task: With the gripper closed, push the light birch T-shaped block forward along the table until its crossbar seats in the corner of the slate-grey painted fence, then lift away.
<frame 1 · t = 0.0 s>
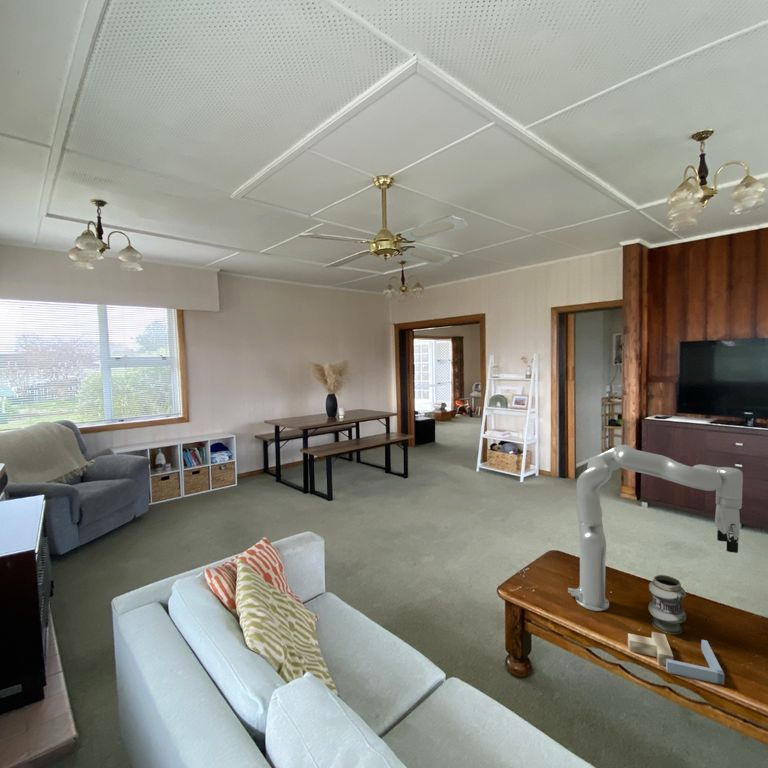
hand: (727, 546, 158), 31 cm above the table, fingers open, 9 cm apart
apothecary jar: (666, 626, 161), on the table
fence: (711, 666, 140), on the table
t block: (648, 651, 147), on the table
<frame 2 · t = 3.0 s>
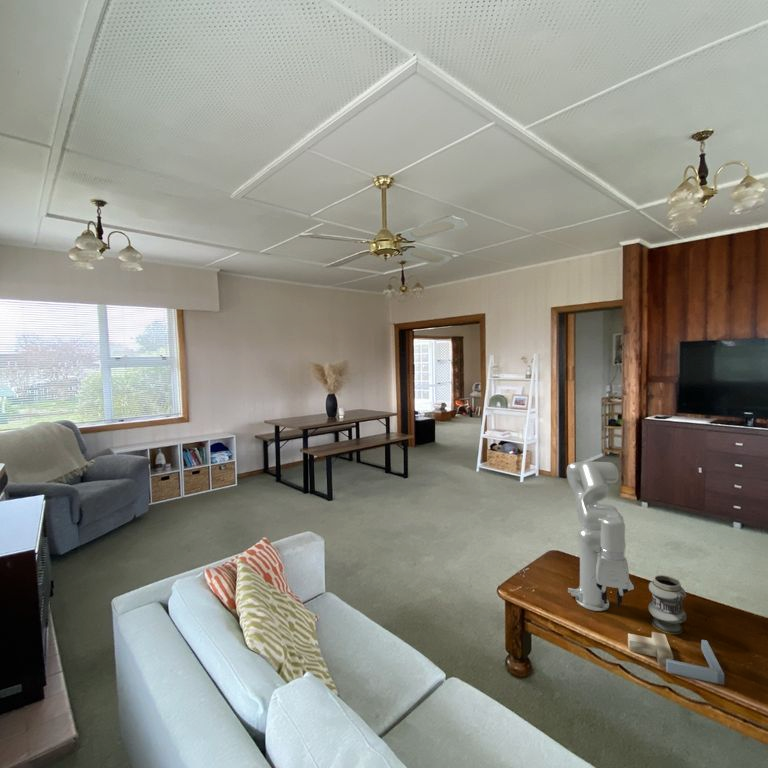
hand: (611, 602, 151), 15 cm above the table, fingers open, 3 cm apart
nothing on the table moved.
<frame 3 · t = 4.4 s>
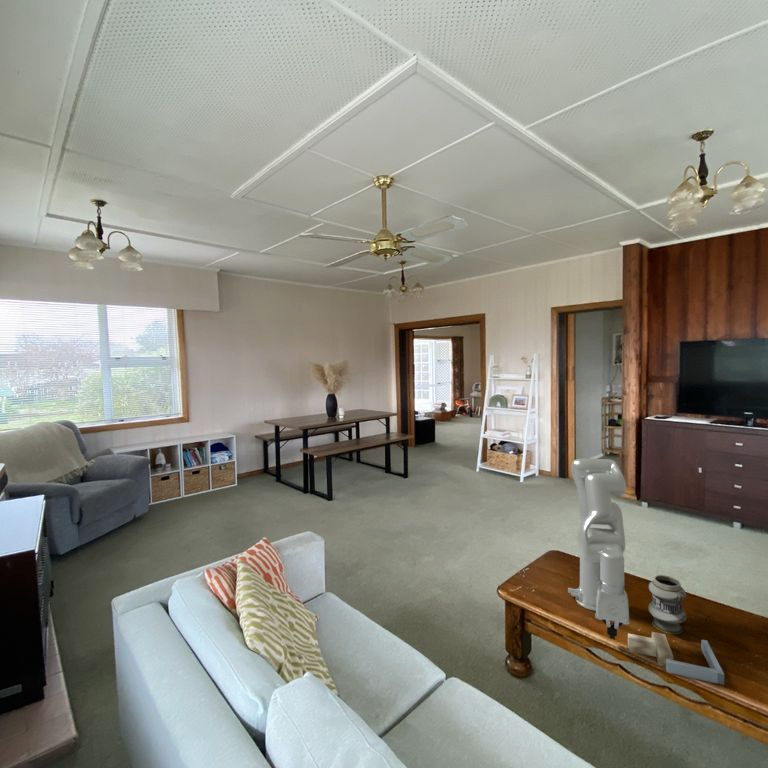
hand: (611, 636, 151), 3 cm above the table, fingers closed
nothing on the table moved.
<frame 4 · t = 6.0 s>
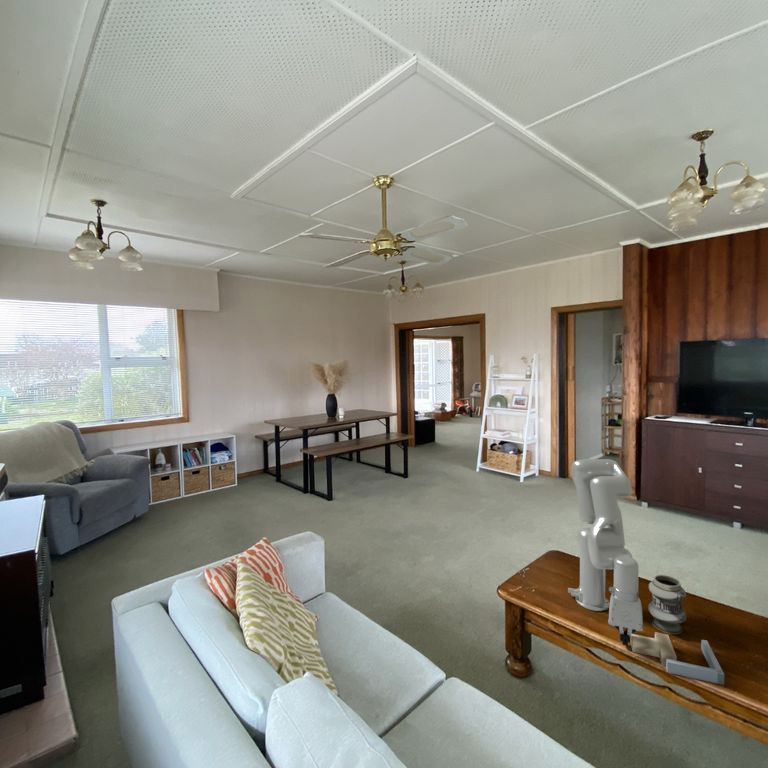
hand: (624, 643, 150), 1 cm above the table, fingers closed
t block: (651, 652, 147), on the table, touching gripper
everything else where it was.
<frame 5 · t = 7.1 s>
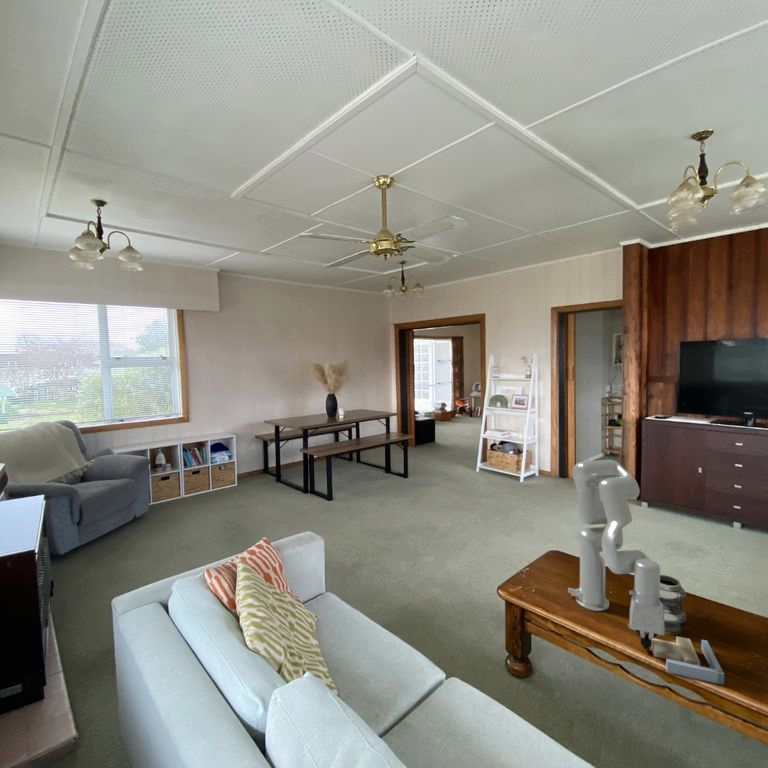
hand: (645, 647, 147), 1 cm above the table, fingers closed
t block: (673, 656, 144), on the table, touching gripper
everything else where it was.
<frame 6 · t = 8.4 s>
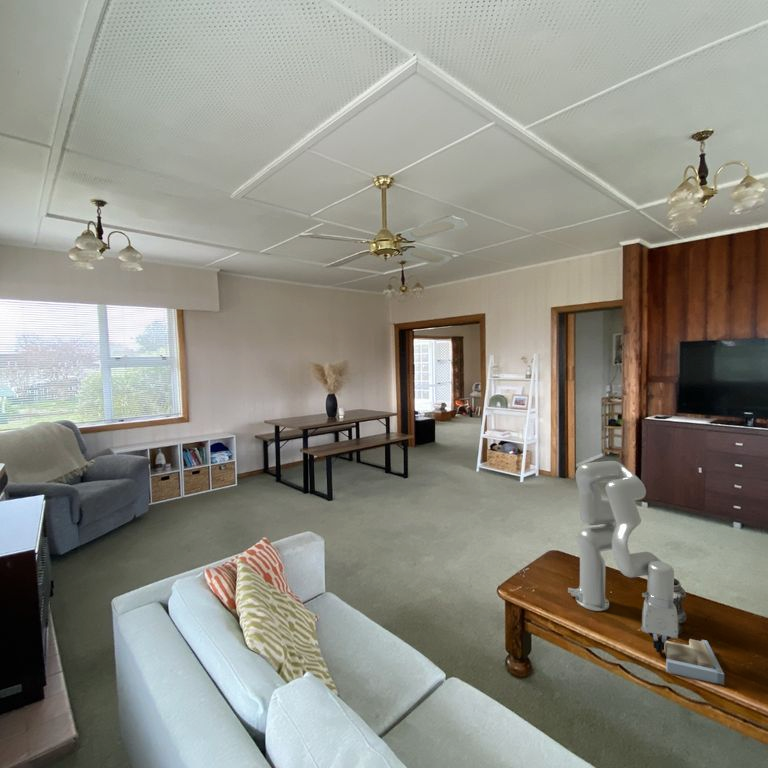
hand: (658, 650, 146), 1 cm above the table, fingers closed
t block: (686, 659, 143), on the table, touching fence, gripper
everything else where it was.
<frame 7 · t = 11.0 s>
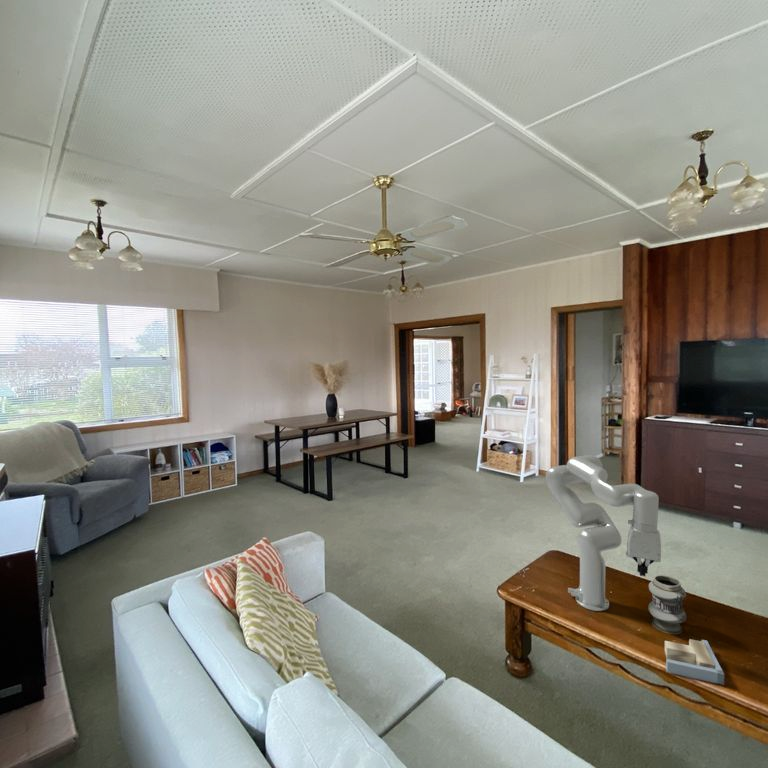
hand: (642, 574, 153), 24 cm above the table, fingers closed
t block: (686, 659, 143), on the table
everything else where it was.
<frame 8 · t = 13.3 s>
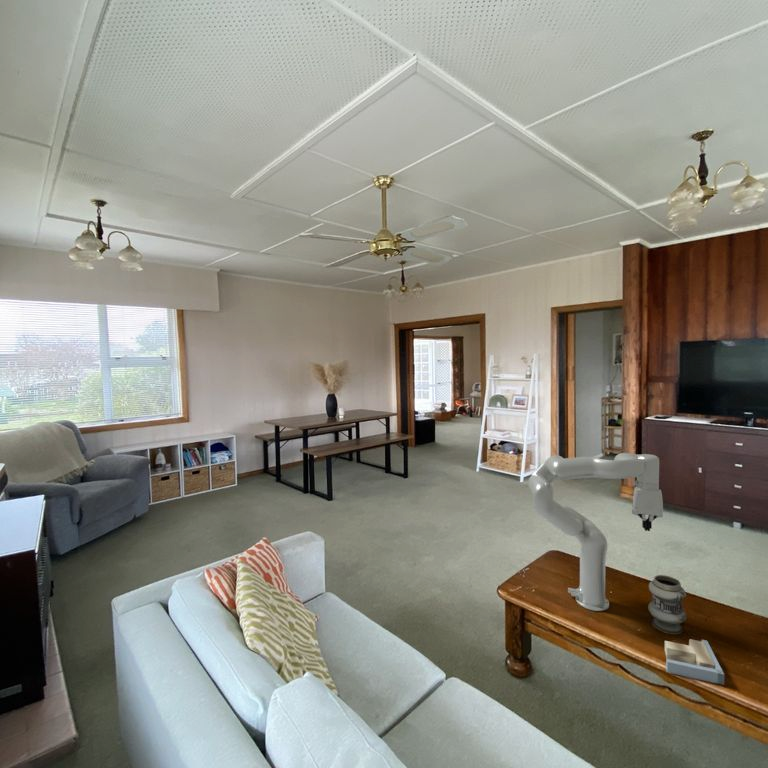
hand: (646, 529, 172), 32 cm above the table, fingers closed
nothing on the table moved.
at the end: t block 0.3 cm from the target spot on the fence, point 0.0 cm above the fence's base; t block tilted 0° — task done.
